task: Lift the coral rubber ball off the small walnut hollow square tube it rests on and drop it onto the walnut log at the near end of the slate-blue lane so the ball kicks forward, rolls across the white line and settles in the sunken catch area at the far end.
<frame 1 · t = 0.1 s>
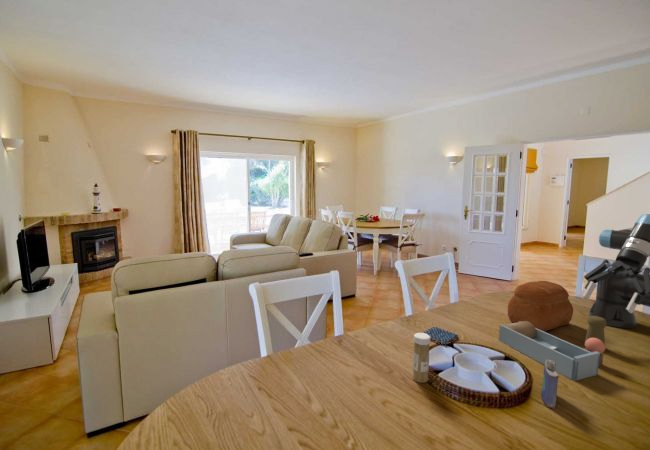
hand: (605, 304, 117), 15 cm above the table, tool tilted 35°, fingers open, 13 cm apart
bread: (538, 323, 139), on the table
ball: (594, 345, 107), point 6 cm above the table, touching hollow square tube
cork: (594, 347, 118), on the table
woven mat: (439, 339, 125), on the table
lane: (543, 355, 112), on the table
flask: (547, 399, 90), on the table
sprinkles bottle: (420, 379, 99), on the table
hollow square tube: (592, 362, 108), on the table
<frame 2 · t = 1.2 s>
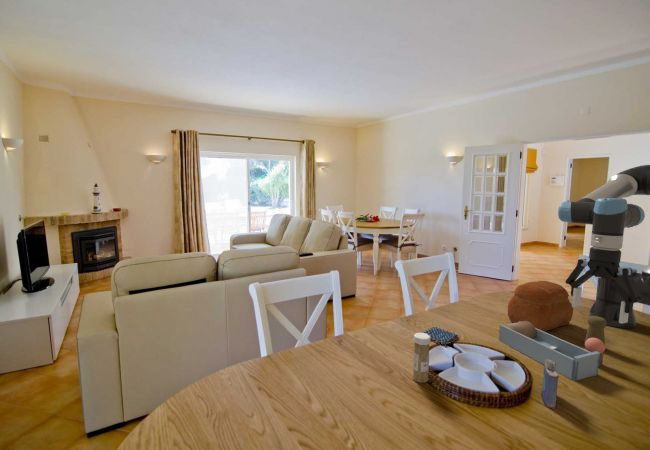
hand: (597, 314, 106), 16 cm above the table, tool pointing down, fingers open, 13 cm apart
nothing on the table moved.
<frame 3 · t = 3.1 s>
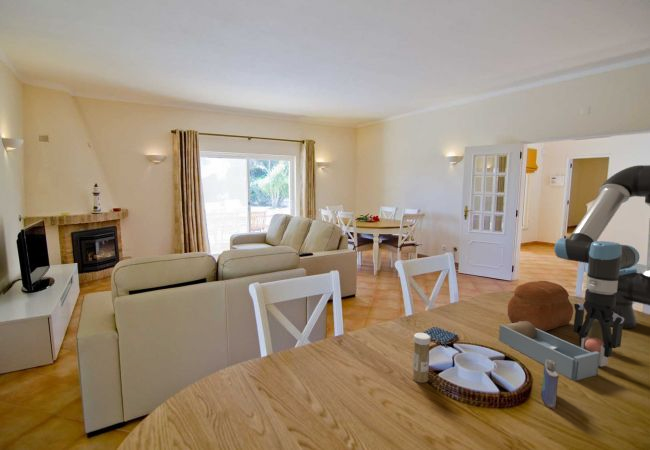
hand: (593, 360, 108), 1 cm above the table, tool pointing down, fingers closed on ball, 5 cm apart
ball: (594, 345, 107), point 6 cm above the table, touching gripper, hollow square tube
everything else where it was.
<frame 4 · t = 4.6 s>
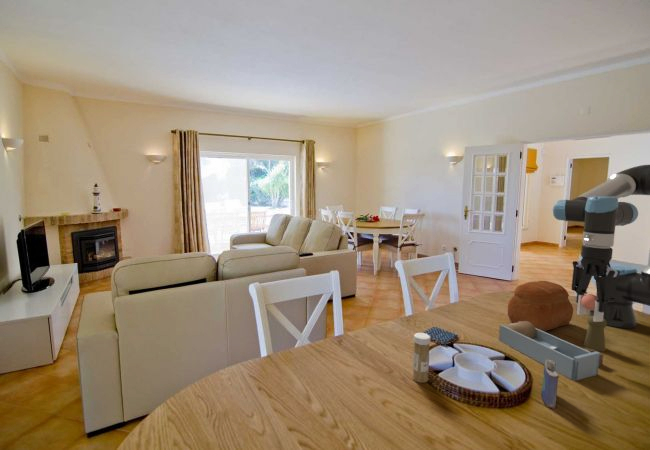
hand: (589, 317, 107), 15 cm above the table, tool pointing down, fingers closed on ball, 5 cm apart
ball: (591, 302, 106), point 20 cm above the table, touching gripper
everything else where it was.
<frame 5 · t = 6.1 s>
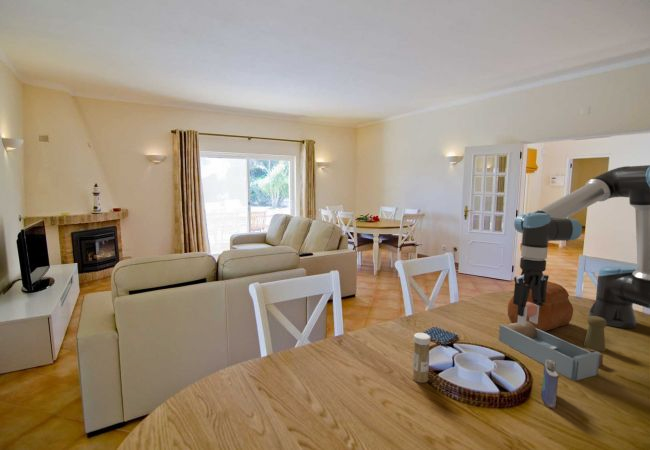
hand: (527, 323, 117), 9 cm above the table, tool pointing down, fingers closed on ball, 5 cm apart
ball: (528, 309, 116), point 14 cm above the table, touching gripper
everything else where it was.
when the fingers open (8 cm above the table, at t = 6.4 s): ball drops 10 cm, resting on lane.
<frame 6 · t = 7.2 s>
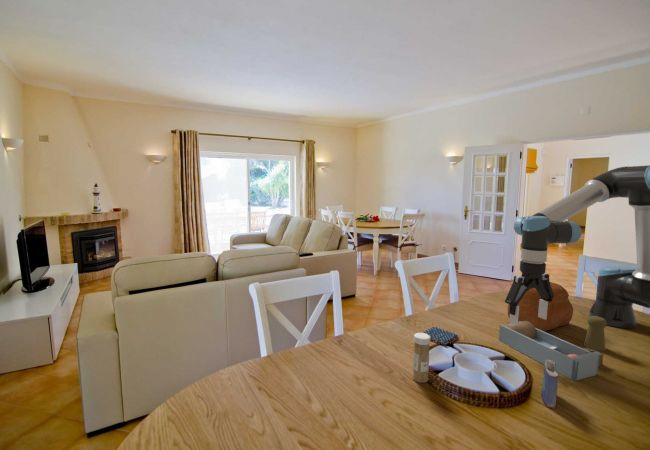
hand: (528, 320, 117), 10 cm above the table, tool pointing down, fingers open, 13 cm apart
ball: (574, 362, 102), point 3 cm above the table, tilted 22°, touching lane
everything else where it was.
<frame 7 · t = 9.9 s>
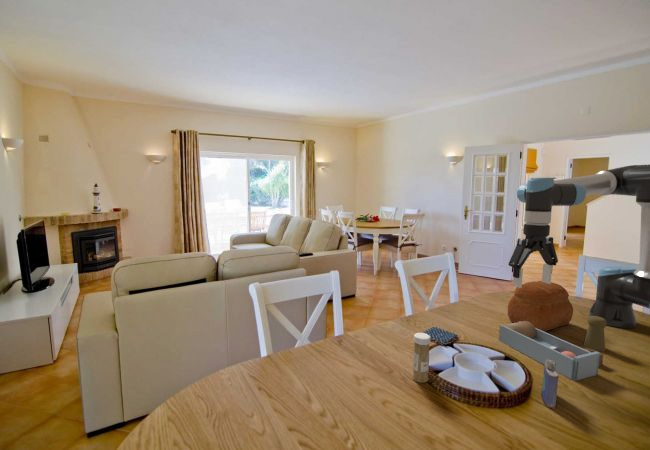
hand: (531, 284, 115), 23 cm above the table, tool pointing down, fingers open, 13 cm apart
ball: (568, 359, 104), point 3 cm above the table, tilted 22°, touching lane
everything else where it was.
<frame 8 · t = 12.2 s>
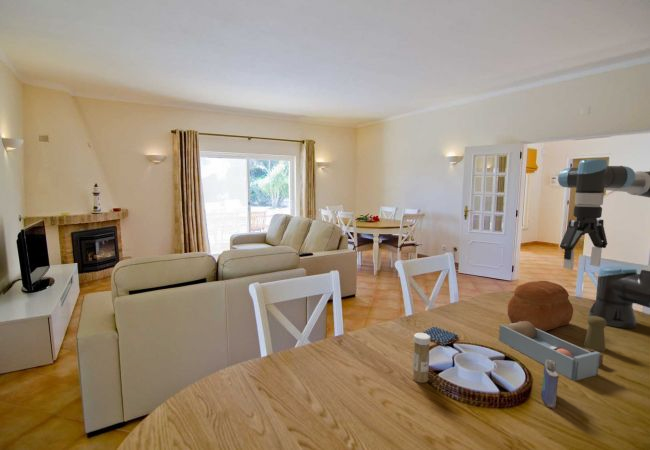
hand: (581, 267, 115), 29 cm above the table, tool pointing down, fingers open, 13 cm apart
ball: (563, 357, 106), point 3 cm above the table, tilted 59°, touching lane
everything else where it was.
at the end: ball inside the target area on the lane (1.5 cm from its centre), point 2.8 cm above the lane's base; the gripper is holding nothing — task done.
